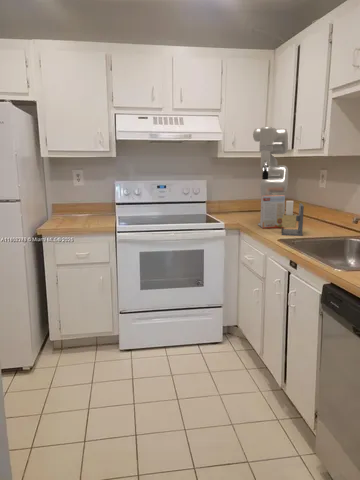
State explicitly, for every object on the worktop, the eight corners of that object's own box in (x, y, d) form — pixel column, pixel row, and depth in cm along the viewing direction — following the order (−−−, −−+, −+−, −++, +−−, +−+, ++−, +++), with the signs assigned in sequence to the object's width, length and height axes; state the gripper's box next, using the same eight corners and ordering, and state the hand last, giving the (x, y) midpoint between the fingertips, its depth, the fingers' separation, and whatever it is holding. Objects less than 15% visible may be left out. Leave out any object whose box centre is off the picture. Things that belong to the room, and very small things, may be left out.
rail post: (285, 224, 220) (286, 200, 218) (292, 224, 219) (293, 200, 216) (285, 225, 216) (286, 201, 214) (292, 225, 215) (293, 201, 213)
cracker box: (281, 226, 242) (282, 194, 238) (284, 228, 236) (285, 195, 232) (260, 227, 241) (261, 195, 237) (262, 228, 236) (263, 195, 232)
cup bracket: (281, 230, 227) (282, 203, 224) (300, 231, 224) (302, 203, 221) (281, 235, 212) (282, 205, 209) (302, 235, 209) (304, 206, 206)
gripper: (259, 149, 222) (258, 178, 226) (259, 148, 206) (258, 179, 209) (272, 149, 221) (271, 178, 224) (273, 148, 204) (271, 179, 207)
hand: (265, 179), depth 216 cm, fingers open, 9 cm apart
